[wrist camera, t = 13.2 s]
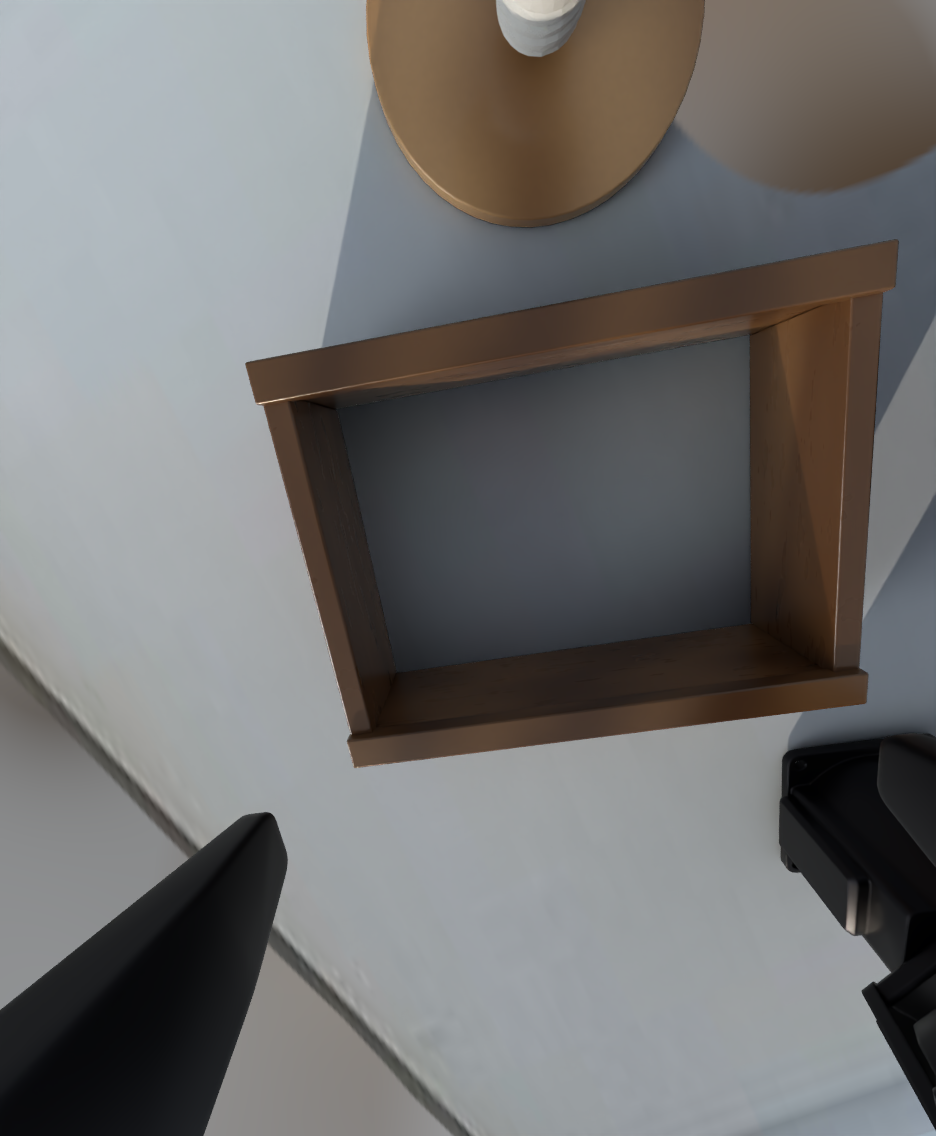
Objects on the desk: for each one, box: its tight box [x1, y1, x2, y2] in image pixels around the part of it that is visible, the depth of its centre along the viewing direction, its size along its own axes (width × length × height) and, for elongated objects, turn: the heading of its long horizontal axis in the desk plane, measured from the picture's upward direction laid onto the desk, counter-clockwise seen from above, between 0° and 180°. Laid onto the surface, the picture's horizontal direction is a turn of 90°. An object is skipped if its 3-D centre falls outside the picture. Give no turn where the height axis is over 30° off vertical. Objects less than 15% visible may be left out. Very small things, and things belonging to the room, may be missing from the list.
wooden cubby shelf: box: [245, 239, 899, 768], centre depth 15 cm, size 17×13×5 cm
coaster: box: [366, 0, 705, 227], centre depth 13 cm, size 10×10×1 cm
